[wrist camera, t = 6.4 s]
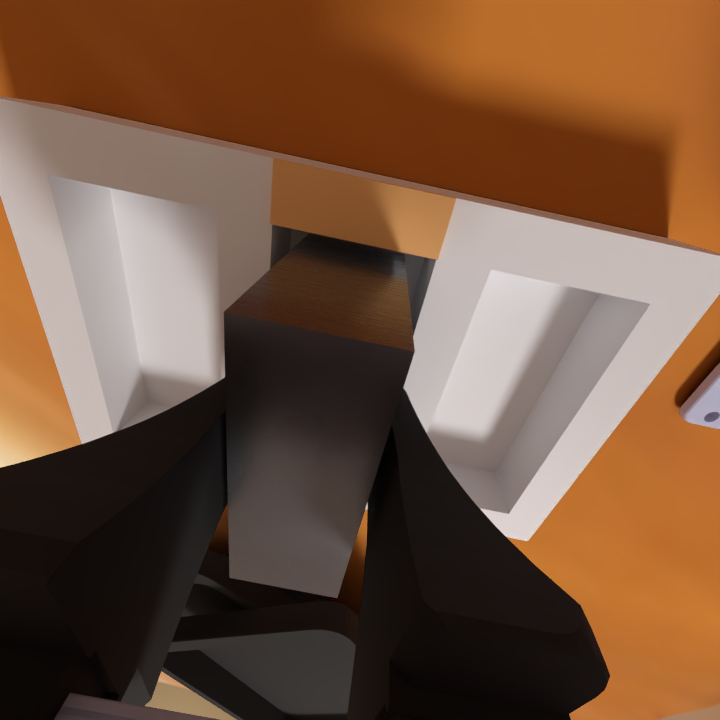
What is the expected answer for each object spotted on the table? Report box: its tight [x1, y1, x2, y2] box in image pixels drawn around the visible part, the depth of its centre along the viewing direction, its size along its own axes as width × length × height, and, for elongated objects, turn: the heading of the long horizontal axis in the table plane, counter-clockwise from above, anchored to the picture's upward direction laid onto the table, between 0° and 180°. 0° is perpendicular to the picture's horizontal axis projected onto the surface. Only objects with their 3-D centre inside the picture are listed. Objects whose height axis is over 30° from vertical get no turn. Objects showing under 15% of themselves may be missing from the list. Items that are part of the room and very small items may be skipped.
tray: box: [161, 551, 359, 720], centre depth 24 cm, size 30×23×5 cm
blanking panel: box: [224, 233, 415, 598], centre depth 10 cm, size 3×8×7 cm, turn 169°
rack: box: [0, 96, 720, 541], centre depth 13 cm, size 20×12×3 cm, turn 79°
